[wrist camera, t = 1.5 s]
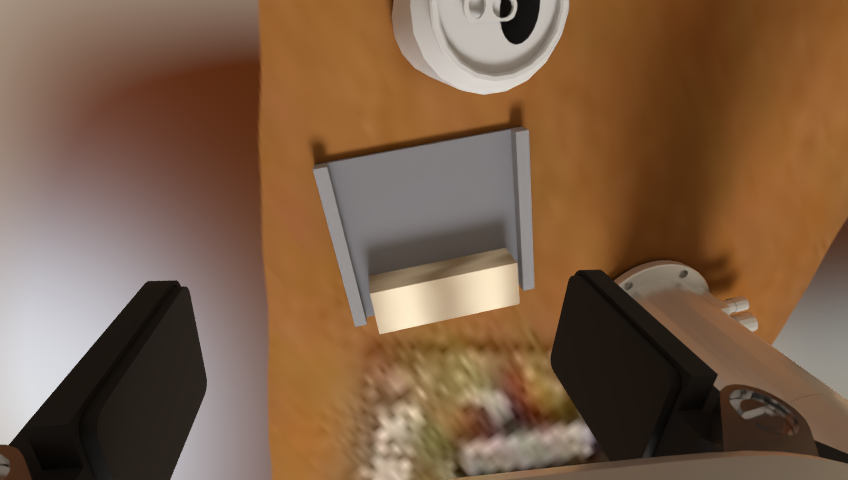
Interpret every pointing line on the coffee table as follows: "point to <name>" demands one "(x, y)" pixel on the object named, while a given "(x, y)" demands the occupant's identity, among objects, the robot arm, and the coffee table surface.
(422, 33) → the can
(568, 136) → the coffee table surface
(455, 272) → the ledge
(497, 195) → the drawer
